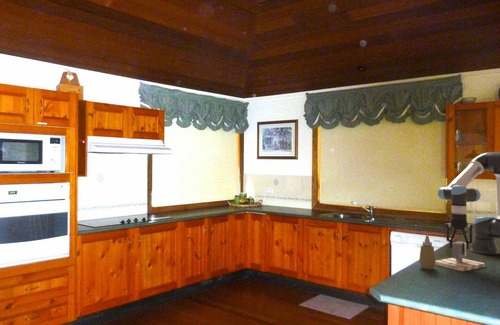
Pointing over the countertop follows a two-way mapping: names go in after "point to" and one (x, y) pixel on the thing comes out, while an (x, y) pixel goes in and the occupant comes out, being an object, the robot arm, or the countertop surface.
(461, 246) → the grey block
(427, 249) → the squeeze bottle
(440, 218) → the countertop surface
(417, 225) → the countertop surface
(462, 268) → the base
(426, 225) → the countertop surface
